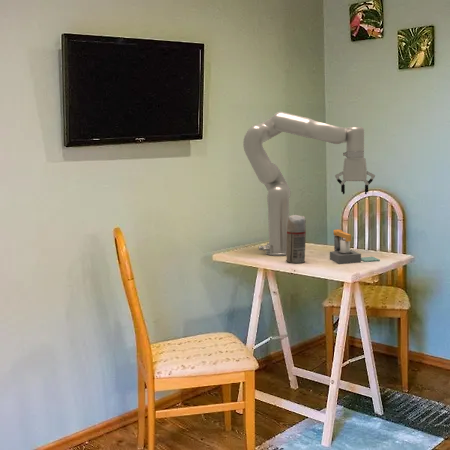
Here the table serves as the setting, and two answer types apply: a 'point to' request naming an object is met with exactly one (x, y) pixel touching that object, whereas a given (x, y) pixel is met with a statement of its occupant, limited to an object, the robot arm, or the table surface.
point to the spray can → (296, 239)
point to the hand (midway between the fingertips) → (354, 193)
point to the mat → (369, 259)
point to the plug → (344, 247)
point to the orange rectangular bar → (342, 234)
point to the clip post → (337, 243)
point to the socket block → (345, 257)
